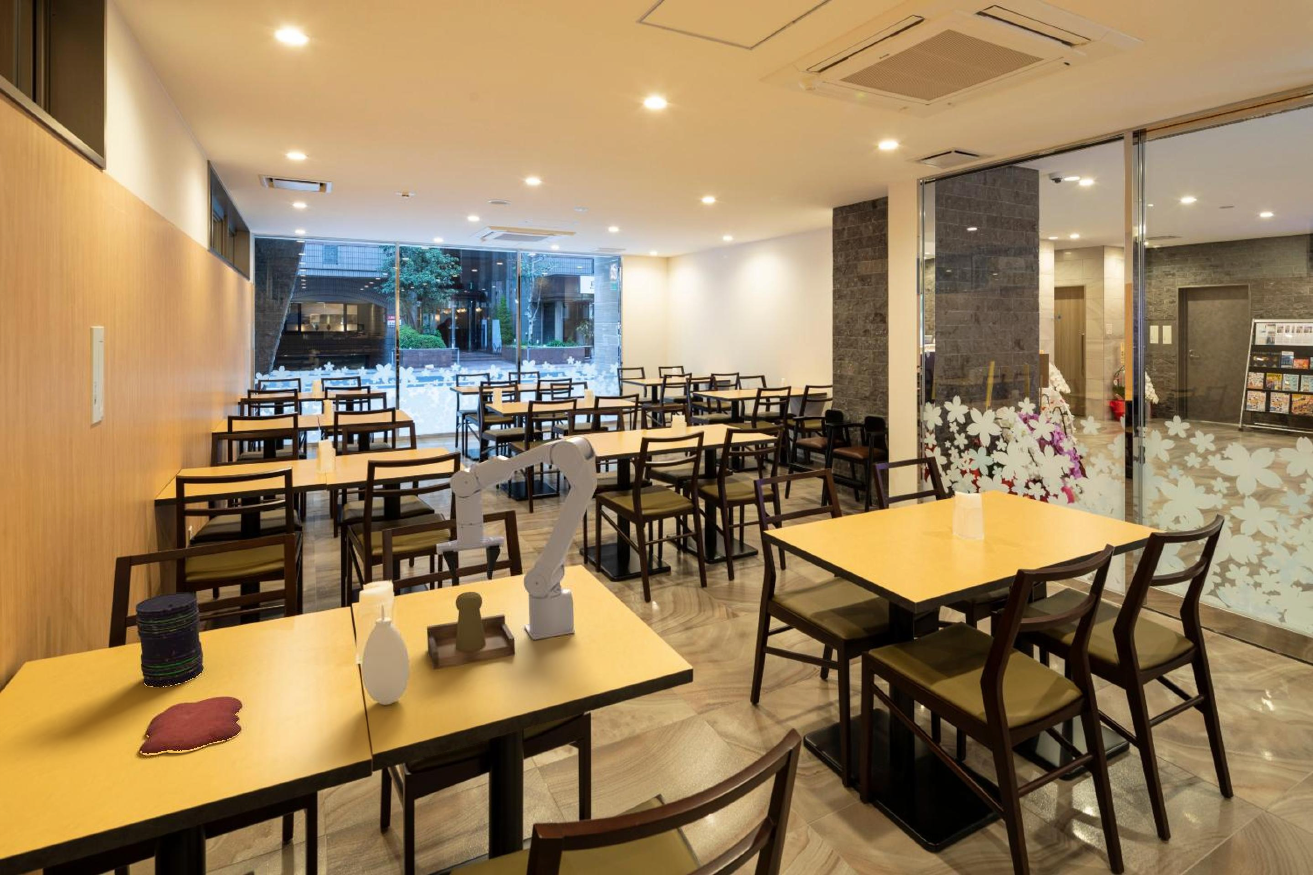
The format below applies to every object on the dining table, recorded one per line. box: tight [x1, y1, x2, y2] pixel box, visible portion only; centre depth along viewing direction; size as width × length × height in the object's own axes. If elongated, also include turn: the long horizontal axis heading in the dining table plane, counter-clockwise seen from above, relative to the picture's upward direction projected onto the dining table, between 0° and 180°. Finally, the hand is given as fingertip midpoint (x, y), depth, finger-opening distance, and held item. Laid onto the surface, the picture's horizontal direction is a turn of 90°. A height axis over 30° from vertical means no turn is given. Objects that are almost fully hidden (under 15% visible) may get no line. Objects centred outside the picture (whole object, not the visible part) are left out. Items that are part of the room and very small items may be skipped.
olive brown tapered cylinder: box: [455, 591, 486, 652], centre depth 144 cm, size 6×6×11 cm
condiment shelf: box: [426, 613, 516, 670], centre depth 146 cm, size 16×10×5 cm, turn 114°
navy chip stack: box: [135, 592, 205, 688], centre depth 135 cm, size 10×10×15 cm
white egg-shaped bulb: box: [361, 604, 411, 706], centre depth 125 cm, size 8×8×18 cm
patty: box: [139, 696, 243, 754], centre depth 118 cm, size 18×14×2 cm
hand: (472, 580), depth 159 cm, fingers open, 7 cm apart
